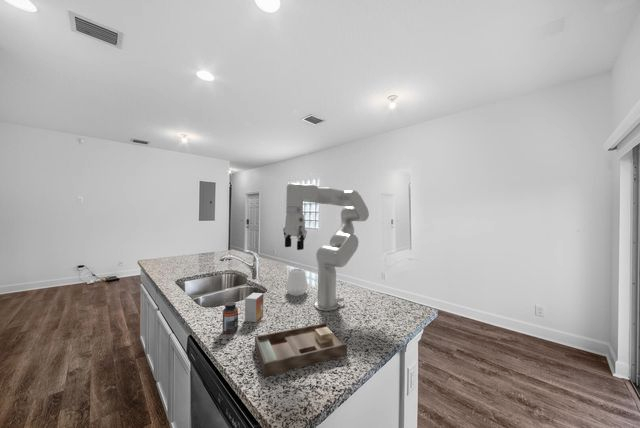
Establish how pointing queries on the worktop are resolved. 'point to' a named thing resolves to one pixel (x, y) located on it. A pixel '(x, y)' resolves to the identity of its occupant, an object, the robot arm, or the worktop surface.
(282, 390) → the worktop surface
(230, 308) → the supplement bottle
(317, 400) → the worktop surface
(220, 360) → the worktop surface
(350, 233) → the robot arm
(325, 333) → the maple block
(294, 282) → the cup
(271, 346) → the box
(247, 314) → the small box
